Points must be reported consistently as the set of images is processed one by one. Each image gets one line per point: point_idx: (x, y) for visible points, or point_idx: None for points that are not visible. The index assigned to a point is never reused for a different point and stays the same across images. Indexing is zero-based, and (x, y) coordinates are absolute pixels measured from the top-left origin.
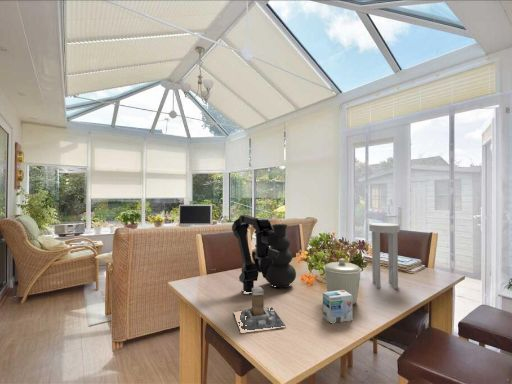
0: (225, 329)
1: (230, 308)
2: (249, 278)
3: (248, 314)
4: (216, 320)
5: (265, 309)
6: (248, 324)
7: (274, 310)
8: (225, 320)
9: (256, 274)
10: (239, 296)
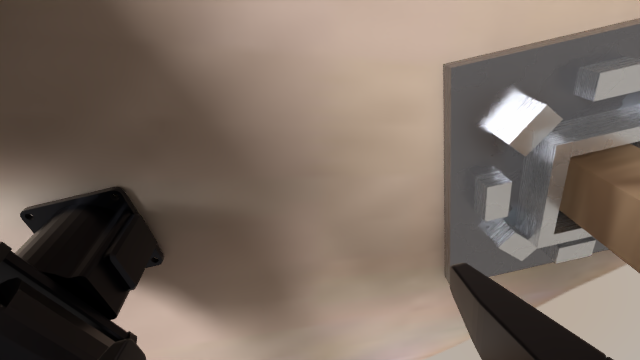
0: (582, 282)
1: (378, 294)
2: (109, 341)
3: None
4: None
5: (596, 138)
6: None
7: (514, 52)
8: None
9: (17, 322)
10: (196, 276)
